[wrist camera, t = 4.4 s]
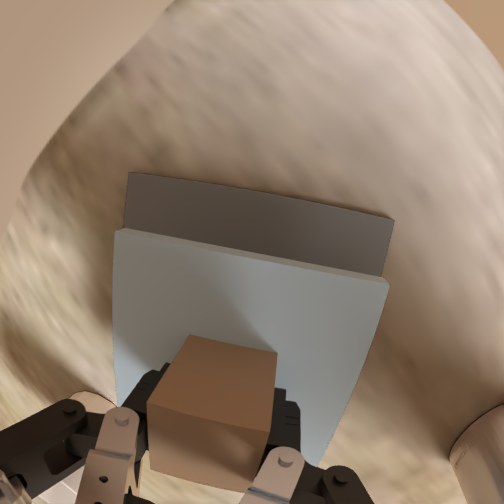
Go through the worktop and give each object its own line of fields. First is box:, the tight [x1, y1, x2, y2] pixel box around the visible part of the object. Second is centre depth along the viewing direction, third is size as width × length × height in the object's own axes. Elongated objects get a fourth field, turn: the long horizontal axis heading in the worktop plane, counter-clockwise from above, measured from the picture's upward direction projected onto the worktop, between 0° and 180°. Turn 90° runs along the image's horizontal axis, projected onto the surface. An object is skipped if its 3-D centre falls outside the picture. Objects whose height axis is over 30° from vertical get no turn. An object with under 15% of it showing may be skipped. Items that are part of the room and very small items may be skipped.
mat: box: [123, 172, 395, 277], centre depth 20 cm, size 16×16×1 cm
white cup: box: [39, 391, 116, 504], centre depth 19 cm, size 8×8×10 cm
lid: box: [112, 228, 390, 493], centre depth 12 cm, size 12×12×6 cm
